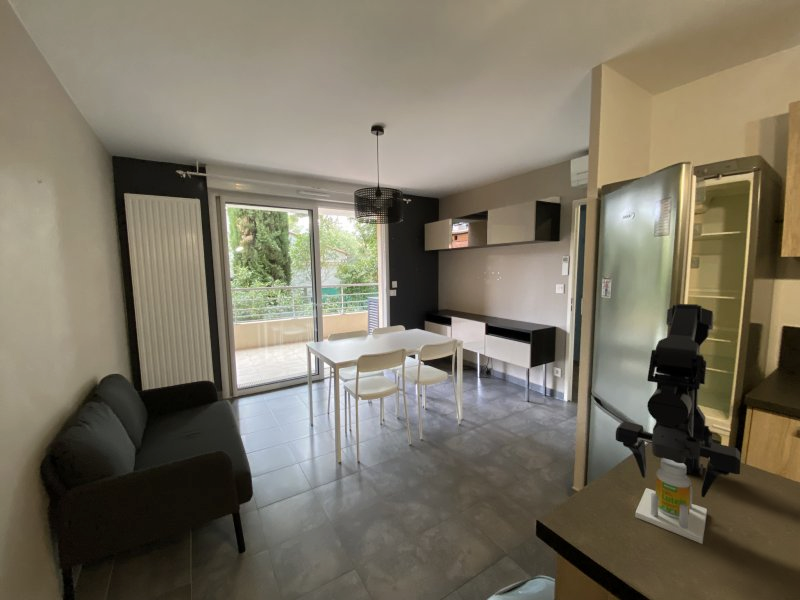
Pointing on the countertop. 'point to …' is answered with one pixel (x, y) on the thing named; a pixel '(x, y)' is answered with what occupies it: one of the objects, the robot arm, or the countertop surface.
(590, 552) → the countertop surface
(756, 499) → the countertop surface
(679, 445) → the robot arm
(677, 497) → the supplement bottle
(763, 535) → the countertop surface
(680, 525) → the pin tray
